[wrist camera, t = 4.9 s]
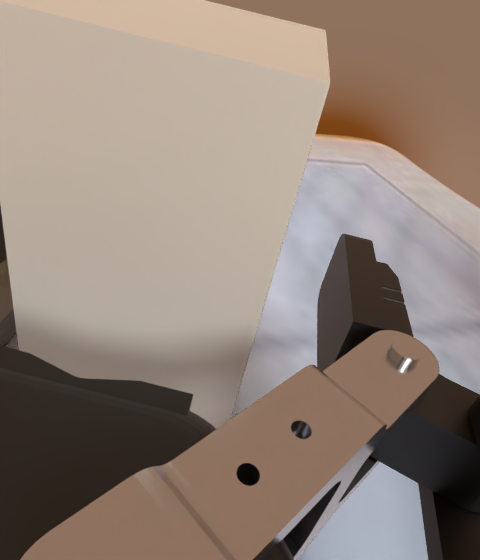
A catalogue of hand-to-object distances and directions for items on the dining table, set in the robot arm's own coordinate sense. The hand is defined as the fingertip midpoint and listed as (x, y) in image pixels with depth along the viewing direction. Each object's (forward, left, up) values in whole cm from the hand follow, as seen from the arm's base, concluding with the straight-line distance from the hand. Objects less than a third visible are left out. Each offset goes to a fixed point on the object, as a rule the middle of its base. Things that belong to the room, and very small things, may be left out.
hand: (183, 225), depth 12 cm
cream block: (0, +1, -7) cm, 7 cm away
